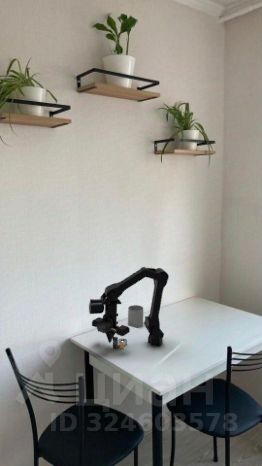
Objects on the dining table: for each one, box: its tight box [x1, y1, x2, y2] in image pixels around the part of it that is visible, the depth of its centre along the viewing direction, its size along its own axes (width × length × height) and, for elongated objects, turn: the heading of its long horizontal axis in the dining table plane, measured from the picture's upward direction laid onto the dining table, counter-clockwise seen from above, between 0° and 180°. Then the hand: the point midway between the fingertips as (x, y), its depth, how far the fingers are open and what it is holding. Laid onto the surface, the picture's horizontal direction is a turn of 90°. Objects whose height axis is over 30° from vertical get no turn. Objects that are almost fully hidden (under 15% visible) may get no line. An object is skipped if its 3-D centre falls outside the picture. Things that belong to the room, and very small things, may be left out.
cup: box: [127, 304, 144, 329], centre depth 219 cm, size 8×8×10 cm
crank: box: [112, 336, 128, 350], centre depth 190 cm, size 10×4×6 cm, turn 148°
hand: (109, 342), depth 189 cm, fingers closed
